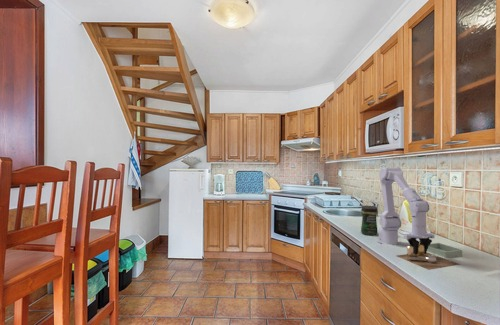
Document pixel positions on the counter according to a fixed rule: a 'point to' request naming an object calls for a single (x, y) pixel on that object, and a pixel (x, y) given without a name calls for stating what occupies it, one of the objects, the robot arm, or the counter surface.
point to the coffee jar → (369, 220)
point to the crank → (424, 258)
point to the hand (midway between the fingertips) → (419, 253)
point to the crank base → (439, 263)
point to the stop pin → (420, 250)
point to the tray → (450, 250)
